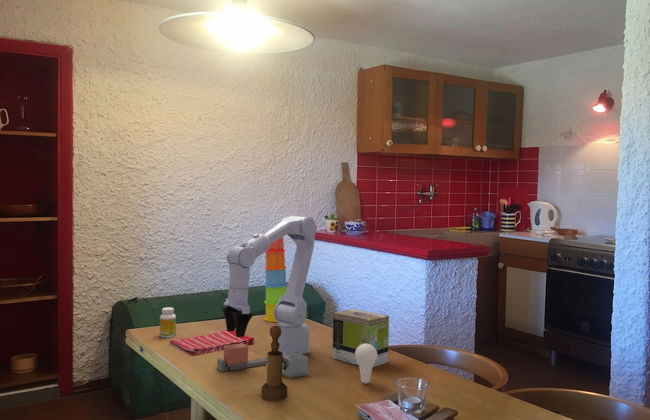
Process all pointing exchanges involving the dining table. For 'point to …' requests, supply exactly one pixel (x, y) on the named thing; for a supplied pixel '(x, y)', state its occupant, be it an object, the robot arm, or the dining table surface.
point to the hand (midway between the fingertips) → (235, 334)
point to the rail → (251, 363)
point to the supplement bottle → (167, 323)
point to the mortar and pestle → (274, 370)
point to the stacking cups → (274, 277)
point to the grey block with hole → (295, 365)
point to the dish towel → (210, 342)
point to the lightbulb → (365, 360)
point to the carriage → (236, 356)
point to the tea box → (360, 334)
